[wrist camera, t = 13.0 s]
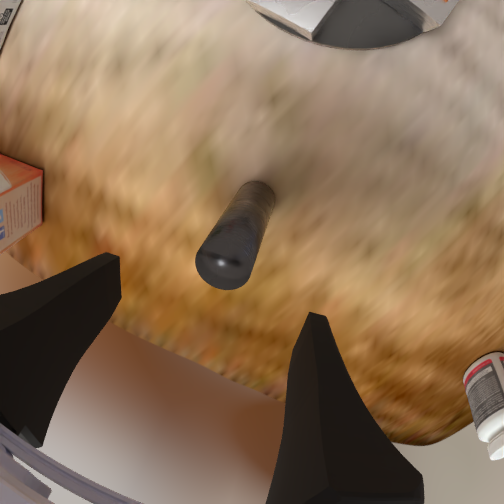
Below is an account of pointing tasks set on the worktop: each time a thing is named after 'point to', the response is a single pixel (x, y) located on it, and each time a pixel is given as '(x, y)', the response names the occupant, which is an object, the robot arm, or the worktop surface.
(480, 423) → the pill bottle
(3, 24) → the tea box
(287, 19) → the tabbed chrome dome
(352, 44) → the dome plinth
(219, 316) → the worktop surface
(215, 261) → the black pin
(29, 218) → the cracker box
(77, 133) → the worktop surface
